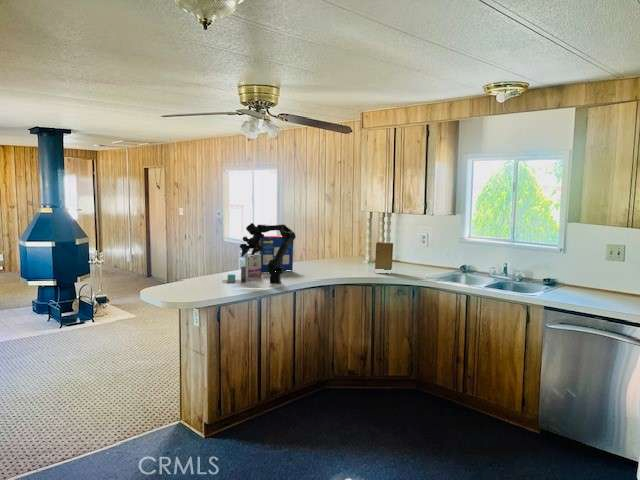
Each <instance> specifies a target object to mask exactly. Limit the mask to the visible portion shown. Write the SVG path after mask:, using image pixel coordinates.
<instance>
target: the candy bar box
mask: <svg viewBox="0 0 640 480" xmlns="http://www.w3.org/2000/svg"><path fill="white" fill-rule="evenodd" d="M244 262H245V263H244V267H246V278H255V277H258V278H262V273H261V255H259V254H257V253H255V254H254V255H251V254H249V255H248V254H245V255H244Z"/></svg>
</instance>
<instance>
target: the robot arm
mask: <svg viewBox="0 0 640 480" xmlns="http://www.w3.org/2000/svg"><path fill="white" fill-rule="evenodd" d="M245 230H246V231H247V232H248V233H249V234H250V235H251V236H252V237H251V236H248V235H247V236H246V235H245V236H243V237H242V241H244V242H246V243H240V244H239V248H240V249H241V257H243V258H244V257H245V256H246V255H247V254H248V252H249V251H250V249H251V250H252V251H251V253H250V255H255V254H257V252H259V251H261V250H262V249H263V246H262V245H261V244H260V242H259V241H260V239H261V238H265V237H264V236H265V235H264V234H265V233H268V232H270V231H271V232H272V231H278V232H279V233H280V234H279V235H280V236H283V237H282V244H281V246H280V248H279V250H278V252H277V254H276V256H275V258H274V260H270V261H269V264H268V271H269V273H268V274H269V275H270V277H269V284H273V285H275V284H277V285H279V284H281V283H282V281H281V279H282V278H281V276H282V274H283V273H284V272H283V270H282V269H281V267H280V266H281V260H282V258H283V256H284V254H285V252H286V250H287V248H288V246H289V244H291V243H292V242H293V243H294V241H295V239H296V233H295V232H294V231H293V230H292V229H291V228H290V227H287V225H286V224H283V223H282V224H275V225H270V224H257V225H255V224H254V223H252V222H251V223H250V224H248V225H247V226H246V228H245ZM275 271H276V272H275Z"/></svg>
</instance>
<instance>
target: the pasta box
mask: <svg viewBox="0 0 640 480" xmlns="http://www.w3.org/2000/svg"><path fill="white" fill-rule="evenodd" d="M264 237H265V238H261V239H260V241H259V242H260V244H261V245H262V246H263V249H262V250H261V251H259V252H257V253H256V254H259V255H261V274H263V272H269V271H268V264H269V261H270V260H274V258H275V256H276V254H277V252H278V250H279V248H280V246H281V244H282V237H283V236H282V235H264ZM293 264H294V241H293V242H292V243H291V244H289V246H288V248H287V250H286V252H285V254H284V256H283V258H282V260H281V266H280V267H281V269H282V270H283V271H286V270H293V266H294V265H293Z"/></svg>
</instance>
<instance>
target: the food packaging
mask: <svg viewBox="0 0 640 480" xmlns="http://www.w3.org/2000/svg"><path fill="white" fill-rule="evenodd" d="M375 244H376V245H375V261H374V265H375V266H374V270H375V269H384V270H391V269H392V270H393V256H394V242H385V241H383V242H382V241H377V242H376V243H375Z"/></svg>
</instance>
